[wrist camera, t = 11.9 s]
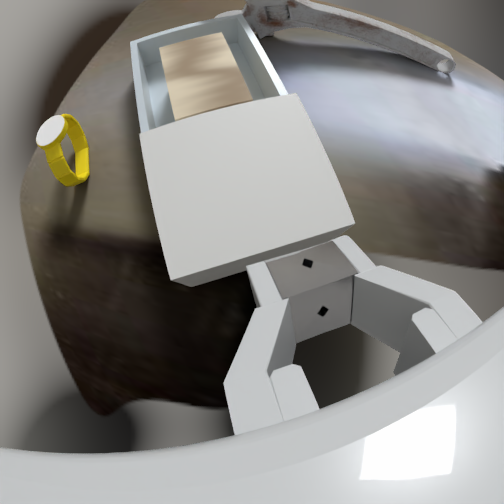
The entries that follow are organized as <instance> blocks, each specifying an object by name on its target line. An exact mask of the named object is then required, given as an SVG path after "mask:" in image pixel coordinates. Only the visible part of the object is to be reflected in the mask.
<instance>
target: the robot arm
mask: <svg viewBox="0 0 504 504" xmlns="http://www.w3.org/2000/svg"><path fill="white" fill-rule="evenodd" d="M246 270H247V273H248V277H249V281H250V285H251V288H252V292H253V296H254V299H255V303H256V306H257V308H256V309H255V310H254V313H253V315H252V317H251V320H250V322H249V325H248V327H247V329H246V332H245V334H244V336H243V339H242V341H241V343H240V346H239V348H238V351H237V353H236V355H235V358H234V360H233V362H232V365H231V367H230V369H229V371H228V374H227V376H226V378H225V381H224V388H225V393H226V397H227V402H228V407H229V411H230V416H231V420H232V424H233V429H234V433H235V435H234V436H229V437H225V438H220V439H216V440H211V441H206V442H201V443H195V444H189V445H183V446H178V447H170V448H163V449H155V450H146V451H135V452H122V453H102V454H101V453H97V454H71V453H48V452H35V451H25V450H17V449H10V448H3V447H0V504H504V307H502V308H501V309H500V310H499V311H497V312H496V313H495V314H493V315H492V316H491V317H489V318H488V319H487V320H485V321H484V322H482V321H481V320H480V318H479V317H478V316H477V315H476V314H475V313H474V312H473V311H472V309H471V308H470V307H469V306H468V305H467V304H466V303H465V302H464V300H462V298H461V297H460V296H459V295H458V294H457V293H456V292H455V291H453V290H451V289H448V288H445V287H442V286H440V285H437V284H434V283H431V282H428V281H425V280H423V279H420V278H417V277H414V276H411V275H408V274H405V273H402V272H399V271H397V270H394V269H391V268H388V267H385V266H382V265H381V266H378V267H376V265H375V264H374V263H373V262H372V261H371V260H370V259H369V258H368V257H367V256H366V254H365V253H364V252H363V251H362V250H361V249H360V248H359V247H358V246H357V245H356V244H355V243H354V242H353V240H352V239H351V238H350V237H349V236H346V235H344V236H341V237H338V238H336V239H333V240H330V241H328V242H325V243H322V244H319V245H316V246H313V247H310V248H306V249H303V250H300V251H296V252H293V253H289V254H286V255H282V256H279V257H275V258H272V259H268V260H264V261H262V262H258V263H255V264H251V265H248V266H246ZM349 323H351V324H352V325H354V326H355V327H357V328H359V329H360V330H362V331H364V332H365V333H367V334H369V335H371V336H372V337H374V338H376V339H378V340H379V341H381V342H383V343H385V344H386V345H388V346H390V347H391V348H393V349H395V350H397V351H398V352H400V355H399V358H398V361H397V364H396V367H395V369H394V374H395V376H394V377H392V378H390V379H388V380H386V381H384V382H382V383H380V384H378V385H376V386H374V387H372V388H369V389H367V390H365V391H363V392H361V393H358V394H356V395H354V396H352V397H349V398H347V399H344V400H342V401H340V402H337V403H334V404H332V405H329V406H327V407H324V408H322V409H319V407H318V405H317V402H316V400H315V398H314V396H313V393H312V391H311V389H310V386H309V384H308V382H307V379H306V377H305V375H304V373H303V370H302V368H301V366H297V365H294V364H292V361H293V357H294V352H295V348H296V343H298V342H301V341H303V340H306V339H309V338H311V337H314V336H316V335H319V334H321V333H324V332H327V331H330V330H332V329H335V328H338V327H341V326H344V325H346V324H349Z"/></svg>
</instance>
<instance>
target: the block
mask: <svg viewBox="0 0 504 504" xmlns="http://www.w3.org/2000/svg"><path fill="white" fill-rule="evenodd" d="M159 50H160V55H161V60H162V65H163V69H164V74H165V79H166V83H167V88H168V92H169V96H170V101H171V105H172V110H173V114H174V118H175V121H179V120H182V119H185V118H188V117H192V116H195V115H199V114H202V113H206V112H210V111H213V110H217V109H221V108H225V107H229V106H233V105H238V104H242V103H246V102H251V101H253V99H252V96H251V94H250V92H249V90H248V87H247V85H246V83H245V81H244V78H243V76H242V74H241V72H240V70H239V67H238V65H237V63H236V61H235V59H234V57H233V54H232V52H231V50H230V48H229V46H228V44H227V42H226V40H225V38H224V36H223V34H222V32H220V33H215V34H210V35H206V36H201V37H197V38H193V39H189V40H185V41H181V42H178V43H174V44H171V45H167V46H164V47H161V48H159Z"/></svg>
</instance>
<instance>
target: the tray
mask: <svg viewBox="0 0 504 504" xmlns="http://www.w3.org/2000/svg"><path fill="white" fill-rule="evenodd" d="M220 32H222V34H223V36H224V38H225V40H226V42H227V44H228V46H229V48H230V50H231V52H232V54H233V57H234V59H235V61H236V63H237V65H238V67H239V70H240V72H241V74H242V76H243V78H244V81H245V83H246V85H247V87H248V90H249V92H250V94H251V96H252V99H253V101H256V100H260V99H265V98H271V97H276V96H282V95H287V94H288V93H287V91H286V89H285V87H284V86H283V84H282V82H281V80H280V78H279V76H278V74H277V73H276V71H275V69H274V67H273V65H272V64H271V62H270V60H269V58H268V56H267V55H266V53H265V51H264V49H263V48H262V46H261V44H260V43H259V41H258V39H257V38H256V36H255V34H254V33H253V31H252V29H251V28H250V26H249V25H248V23H247V21H246V20H245V18H244V17H243V15H242V14H238V15H232V16H226V17H220V18H215V19H210V20H205V21H201V22H196V23H192V24H188V25H184V26H180V27H176V28H173V29H169V30H166V31H162V32H159V33H156V34H152V35H149V36H146V37H143V38H140V39H137V40H135V41H132V42H130V45H131V57H132V68H133V77H134V86H135V94H136V102H137V109H138V116H139V123H140V129H141V133H143V132H146V131H149V130H151V129H154V128H157V127H160V126H163V125H166V124H169V123H172V122H175V118H174V114H173V110H172V105H171V101H170V96H169V92H168V88H167V83H166V79H165V74H164V69H163V65H162V60H161V55H160V50H159V48H161V47H164V46H167V45H171V44H174V43H178V42H181V41H185V40H189V39H193V38H197V37H201V36H206V35H210V34H215V33H220Z"/></svg>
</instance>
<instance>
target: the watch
mask: <svg viewBox="0 0 504 504" xmlns="http://www.w3.org/2000/svg"><path fill="white" fill-rule="evenodd" d="M66 133H67V134H68V136H69V138H70V139H71V141H72V145H73V148H74V151H75V167H76V175H75V174H74V173H73V172H72V171H71V170H70V168H69V166H68V164H67V162H66V160H65V158H64V156H63V152H62V148H61V144H60V142H61V141H62V140H63V138H64V137H65V135H66ZM36 142H37V145H38V146H39V147H40V148H41V149H43V150H45V154H46V158H47V162H48V163H49V167H50V168H51V170H52V172H53V174H54V176H55V177H56V178H57V180H59V181H60V182H61V183H62V184H63V185H65V186H66V187H68V186H75V185H77V184H80V183H82V182H85V181H86V179H87V178H88V176H89V174H90V173H89V153H88V150H89V147H88V144H87V140H86V137H85V135H84V132H83V130H82V128H81V126H80V124H79V123H78V121H77V120H76V119H75V118H74V117H73V116H72V115H69V114H62V115H56V116H53V117H51V118H49V119H48V120H47V121H46V122H45V123H44V124H43V125H42V126H41V127H40V129H39V131H38V133H37V137H36Z"/></svg>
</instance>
